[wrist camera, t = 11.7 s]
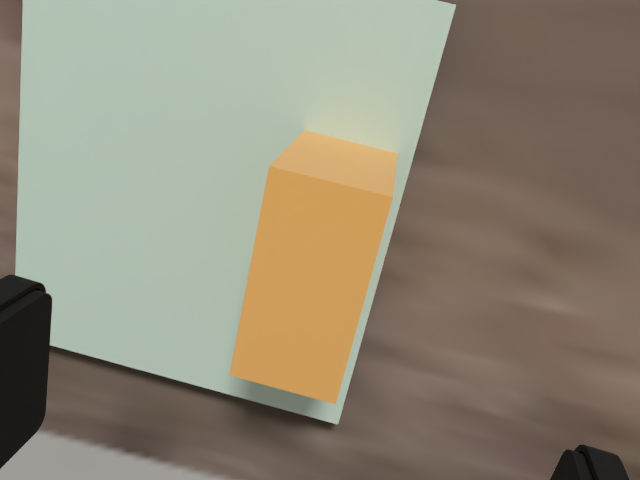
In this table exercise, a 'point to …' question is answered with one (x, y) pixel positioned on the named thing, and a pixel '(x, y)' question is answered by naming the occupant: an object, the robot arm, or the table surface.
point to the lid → (220, 181)
